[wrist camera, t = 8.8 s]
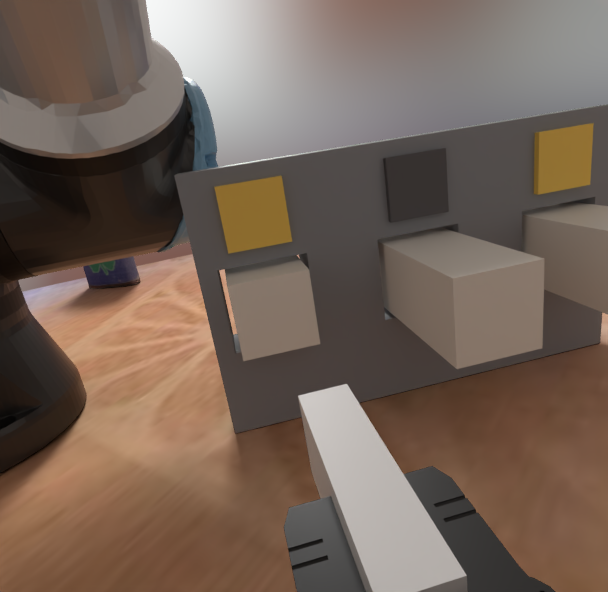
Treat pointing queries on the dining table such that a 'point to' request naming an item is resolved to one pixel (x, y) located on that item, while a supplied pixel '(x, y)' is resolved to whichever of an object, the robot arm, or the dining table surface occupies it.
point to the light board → (364, 245)
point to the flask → (112, 273)
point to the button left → (272, 307)
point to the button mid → (464, 294)
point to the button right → (571, 250)
